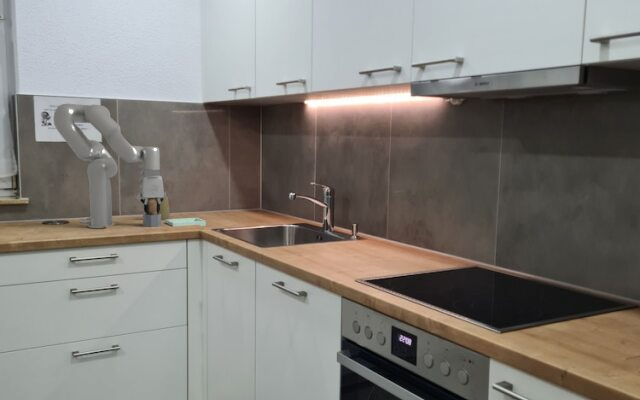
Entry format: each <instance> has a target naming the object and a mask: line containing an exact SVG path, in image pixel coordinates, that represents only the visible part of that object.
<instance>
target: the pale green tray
mask: <svg viewBox="0 0 640 400" xmlns="http://www.w3.org/2000/svg"><path fill="white" fill-rule="evenodd" d="M164 221H165V224H167V225H169V226H172V227H182V226H197V225H198V226H200V227H206V225H207V224H206V223H207V222H206V220H204V219H201V218H199V217H186V218H184V217H183V218H182V217H181V218H170V219H169V218H168V219H167V220H164Z"/></svg>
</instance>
